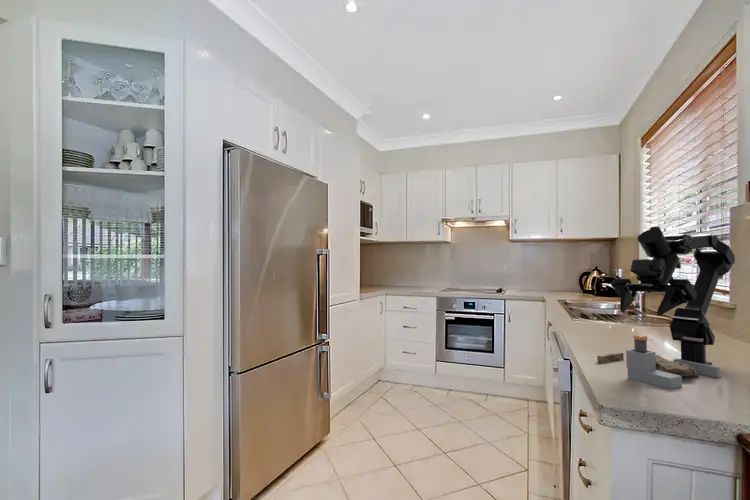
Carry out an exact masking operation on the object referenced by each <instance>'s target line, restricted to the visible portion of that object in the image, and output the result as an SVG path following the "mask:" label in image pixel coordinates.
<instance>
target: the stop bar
mask: <svg viewBox="0 0 750 500" xmlns="http://www.w3.org/2000/svg"><path fill="white" fill-rule="evenodd" d="M624 356H625V355H624V352H621V351H618V352H612V353H606V354H599V355H597V356H596V357H597V363H598V364H607V363H612V362H613V363H614V362H620V361H623V360H625V359H624Z"/></svg>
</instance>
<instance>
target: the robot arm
mask: <svg viewBox="0 0 750 500" xmlns="http://www.w3.org/2000/svg"><path fill="white" fill-rule="evenodd" d="M637 241H638V243H639V244H640V246H641V248H642V250H643V251H644V253H645V254H646V256H647V257H649V258H652V259H648V258H646V259H645V258H644V259H633V260H632V262H631V266H630V271H629V272H630V273H633V274H635V275H636V277H635V278H636V279H637V281H639V282H637V283H636V282H632V280H631V279H630V278H613V280H612V282H611V287H612V288H613V289H614V291H615V292H616V293H617V295H618V296H619V297H620V300H619V303H620V304H619V305H620V307H619V309H620V312H621V313H625V312H626V311H627V310H628V309H629V307H630V306H631V305H632V303H634V301H635V297H636V296H637V294H638V293H637V292H645V293H646V292H647V293H649V294H664V295H663V298H662V300H661V301H660V304H659V307H658V309H657V311H656V313H657V315H658V317H659V316H662V315H664V314H667V312H669V311H671V310H672V309H675V311H674V314H673V316H671V320H670V323H669V330H670V333H671V339H672V340H673V341H679V342H680V359H681V360H686V361H691V362H696V363H701V364H706V365H713V362H711V361H708V360H707V351H706V349H707V348H706V347H707V346H714V344H715V342H716V336H715V334H714V333H713V331H712V329H711V327H710V322H709V320H708V318H707V312H708V309H709V306H710V305H711V300H712V298H713V296H714V294H715V290H716V288H717V285H718V282H719V280H720V278H721V277H722V276H724V275H725V274H728V273H729V272H730V271H731V268H732V267H733V265H734V264H735V261H736V258H735V254H734V252H733V251H732V249H731V247H730V246H729V245H728V244H726V243H725V242H723V241H721V240H719V238H718V236H717V235H716V234H712V233H705V234H703V233H702V234H696V235H691V234H687V233H677V234H664V232H662V229H661V227H660V226H651V227H650V229H647V230H645V231H643V232H642V233H640V234H639V235H638V236H637ZM702 248H712V249H703V250H701V249H702ZM694 249H695V250H694ZM693 250H694V253H693V258H694V259H695V261H696V264H697V266H698V269H699V273H698V275H697V277H696V280H695V282H694V285H693V284H692V283H691V281H690V280H689V279H688V278H674V277H673V275H674V272H675V270H676V269H681V268H682V265H681V263H680V257H679V256H680V255H681V256H682V255H683V256H684V255H688V254H690V253H692V252H693ZM682 304H686V305H685V306H684V307H679V306H680V305H682Z"/></svg>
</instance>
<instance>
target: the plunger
mask: <svg viewBox="0 0 750 500" xmlns="http://www.w3.org/2000/svg"><path fill="white" fill-rule="evenodd" d="M632 339H633V341H634V343H633V344H634V346H633V347H634V348H633V349H635V352H640V353H647V350H648V348H647V347H648V346H647V343H648V342H647V341H648V339H649V338H648V336H647V335H643V334H642V335H641V334H633V337H632Z"/></svg>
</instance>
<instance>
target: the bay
mask: <svg viewBox="0 0 750 500" xmlns="http://www.w3.org/2000/svg"><path fill="white" fill-rule="evenodd" d="M625 353H626V355H625V356H626V357H625V359H626V363H625V364H626V368H627V378H628V379H632V380H635V381H639V382H643V383H646V384H650V385H653V386H657V387H661V388H666V389H669V390H673V389H677V388H682V387H683V376H680V375H675V374H671V373H667V372H662V371H658V370H656V357H655V355H656V351H652V350H648V349H647V353H640V352H635V349H634V348H631V349H626V352H625ZM673 361H676V362H680V363H683V364H687V365H690V366H691V367H693V368H694V369H697V371H698V373H699V375H703V376H708V377H711V378H717V379H718V378H721V367H720V366H717V365H716V366H715V365H712V364H710V365H706V364H701V363H696V362H691V361H686V360H681V358H674V359H673Z"/></svg>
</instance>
